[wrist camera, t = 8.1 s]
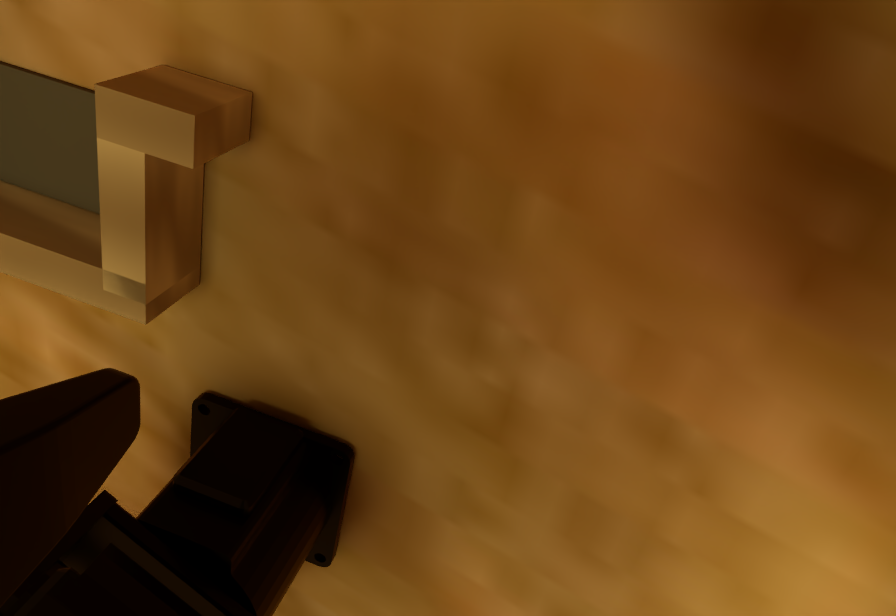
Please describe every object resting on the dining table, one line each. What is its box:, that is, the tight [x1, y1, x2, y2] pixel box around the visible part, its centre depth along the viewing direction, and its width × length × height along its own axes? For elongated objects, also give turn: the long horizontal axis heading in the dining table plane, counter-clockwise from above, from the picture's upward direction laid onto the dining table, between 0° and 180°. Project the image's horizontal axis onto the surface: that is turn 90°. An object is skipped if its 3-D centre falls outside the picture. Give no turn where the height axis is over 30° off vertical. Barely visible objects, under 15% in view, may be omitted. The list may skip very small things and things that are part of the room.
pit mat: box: [0, 61, 100, 214], centre depth 24 cm, size 4×7×1 cm, turn 78°
